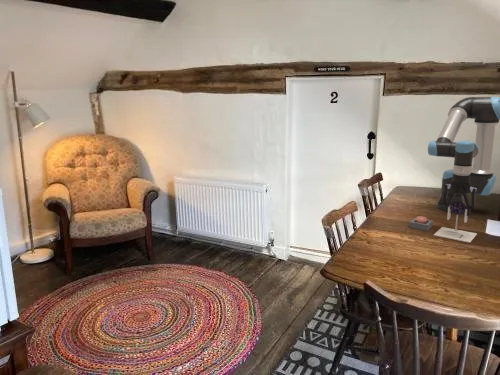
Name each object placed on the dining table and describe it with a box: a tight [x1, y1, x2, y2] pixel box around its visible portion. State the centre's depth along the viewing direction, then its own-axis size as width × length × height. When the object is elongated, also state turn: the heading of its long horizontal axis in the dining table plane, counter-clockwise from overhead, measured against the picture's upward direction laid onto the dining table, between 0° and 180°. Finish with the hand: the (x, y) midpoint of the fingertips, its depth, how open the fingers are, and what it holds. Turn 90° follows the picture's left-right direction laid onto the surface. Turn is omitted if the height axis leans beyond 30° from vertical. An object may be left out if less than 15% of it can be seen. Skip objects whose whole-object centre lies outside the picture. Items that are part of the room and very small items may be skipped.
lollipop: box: [450, 201, 467, 231], centre depth 194 cm, size 7×7×15 cm
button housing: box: [408, 217, 434, 232], centre depth 208 cm, size 9×9×3 cm
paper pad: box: [433, 226, 478, 243], centre depth 196 cm, size 14×16×1 cm
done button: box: [415, 215, 428, 224], centre depth 207 cm, size 5×5×3 cm
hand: (456, 220), depth 194 cm, fingers closed on lollipop, 7 cm apart
